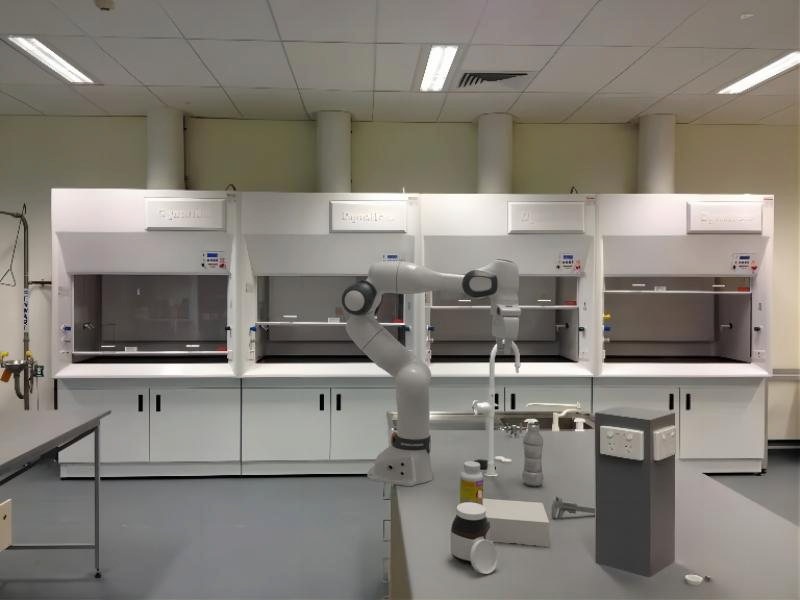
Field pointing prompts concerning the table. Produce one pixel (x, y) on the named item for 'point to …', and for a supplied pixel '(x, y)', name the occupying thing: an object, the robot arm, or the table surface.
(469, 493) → the supplement bottle
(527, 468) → the plastic bottle
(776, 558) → the table surface
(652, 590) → the table surface
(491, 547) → the spread jar
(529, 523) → the sleeve
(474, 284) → the robot arm
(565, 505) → the caliper
